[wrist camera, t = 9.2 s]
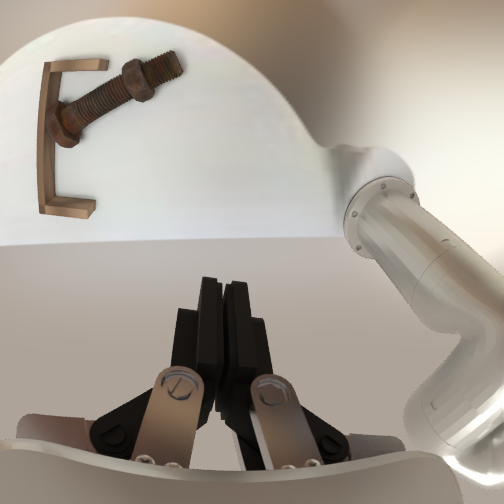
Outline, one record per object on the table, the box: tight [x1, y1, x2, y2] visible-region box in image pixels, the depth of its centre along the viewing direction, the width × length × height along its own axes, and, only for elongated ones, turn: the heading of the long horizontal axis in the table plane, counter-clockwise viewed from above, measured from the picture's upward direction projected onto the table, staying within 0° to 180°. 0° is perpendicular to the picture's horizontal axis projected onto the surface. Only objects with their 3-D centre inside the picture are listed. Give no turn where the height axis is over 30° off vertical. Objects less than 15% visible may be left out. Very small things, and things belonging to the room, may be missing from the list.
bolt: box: [46, 50, 183, 148], centre depth 25 cm, size 6×5×15 cm
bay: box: [37, 59, 109, 219], centre depth 27 cm, size 7×18×3 cm, turn 167°
